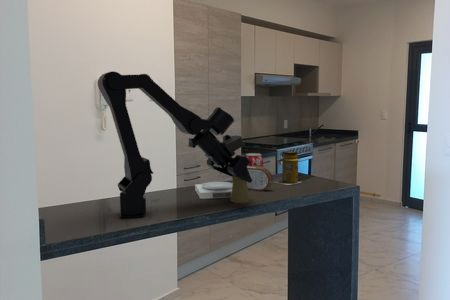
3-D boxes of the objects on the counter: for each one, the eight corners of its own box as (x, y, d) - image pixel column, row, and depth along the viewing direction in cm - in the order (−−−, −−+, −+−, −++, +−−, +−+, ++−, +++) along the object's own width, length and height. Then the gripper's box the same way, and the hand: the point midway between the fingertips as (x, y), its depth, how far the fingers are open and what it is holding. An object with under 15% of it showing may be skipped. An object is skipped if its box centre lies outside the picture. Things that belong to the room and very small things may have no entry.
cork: (248, 203, 127) (248, 168, 125) (228, 202, 128) (228, 167, 126) (250, 198, 132) (250, 165, 131) (232, 198, 134) (232, 164, 132)
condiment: (302, 182, 160) (303, 151, 158) (289, 185, 154) (289, 153, 152) (287, 180, 165) (287, 150, 163) (274, 182, 159) (274, 152, 158)
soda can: (266, 185, 154) (266, 153, 152) (257, 189, 148) (257, 155, 146) (249, 183, 157) (249, 152, 156) (240, 186, 151) (240, 154, 150)
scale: (200, 199, 132) (200, 190, 132) (195, 190, 146) (195, 181, 146) (242, 197, 135) (242, 188, 135) (233, 188, 149) (233, 180, 149)
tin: (272, 190, 145) (273, 167, 144) (269, 192, 142) (269, 168, 141) (235, 186, 152) (234, 164, 151) (231, 188, 149) (231, 165, 148)
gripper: (243, 128, 117) (275, 163, 124) (214, 125, 134) (244, 156, 140) (219, 157, 115) (253, 192, 121) (192, 151, 131) (223, 181, 137)
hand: (243, 179), depth 130 cm, fingers open, 9 cm apart
